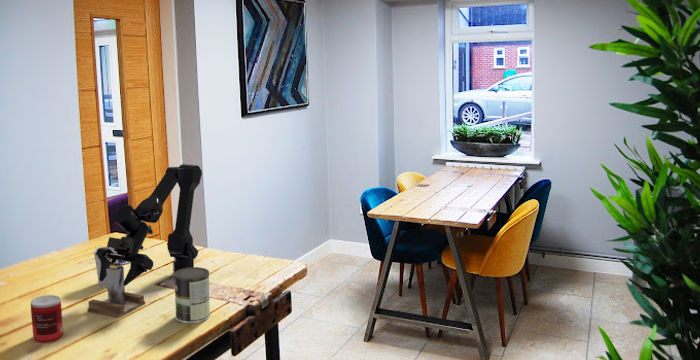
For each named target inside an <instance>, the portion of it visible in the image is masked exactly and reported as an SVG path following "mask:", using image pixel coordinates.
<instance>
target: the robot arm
mask: <svg viewBox="0 0 700 360" xmlns="http://www.w3.org/2000/svg"><path fill="white" fill-rule="evenodd" d="M202 175H203V172H202V169H201V167H200V165H197V164H186V163H182V164H180V165H179V166H169V167H167V168H166V169H165V174H164V175H163V176H162V178H161V180H160V181H159V182H158V184H157V185H156V187H155V188H154V190H153V191H152V192H151V195H149V196H148V197H147V198H145V199H143V200H141V202H140V203H139V204H138V205H137V206H136V208H133V207H134V206H132V205H130V204H125V205H124V207H121V208H119V209H118V210H117V211H116V212H114V215H113V220H114V222H115V223H116V224H117V225H118V226H119V227H120V228H121V229H122V230H123V231H125V232H126V235H125V236H122V237H120V238H117V237H111V236H109V237H108V241H107V245H106V247H108V248H109V247H111V248H114V251H115V252H117V254H115V253H114V252H113V251H111V250H110V249H108V248H102V247H103V246H101V248H100V247H97V248H98V250H97V252H96V255H97V256H98V258H99V259H100V261H101V270H100V278H99V280H100V281H103V280H104V279H105V277H106V276H107V271H106V268H107V267H110V264H113V263H115V262H116V260H119V261H125V262H129V263H130V264H129V265H130V266H129V270H128V271H127V274H126V276H125V277H124V283H123V285H124V286H125V287H127V285H129V284H130V283H132V281H134V280H135V279H136V278H137V277H139V276H141V275H142V274H144V273H147V272H148V271H151V270H153V267H154V261H153V260H152V258H150V256H148V255H147V254H145V253H139V251H143V250H144V247H145V246H143V244H144V242H145V239H146V238H147V235H153V234H154V231H153V229H152V225H150V224H155V223H157V222H158V221H159V220H160V218H161V216H162V214H163V212H164V208H163V207H164V206H163V205H164V204H165V202H166V200H168V197H169V196H170V195H171V193H172V191H174V188H175V186H176V185H178V188H179V194H178V202H177V211H176V220H175V224H174V225H175V226H174V227H175V228H174V230H173V231H172V232H171V233H168V235H167V242H166V247H167V251H168V253H169V256H170V258H174V260H173V261H172V272H173V274H174V273H175V272H176V271H178V270H180V269H184V268H190V267H195V261H194V260H196V258H197V257H198V254H199V250H198V249H197V248H196V247H195V246H194V244H193V243H194V241H193V240H194V239H193V238H194V237H193V236H192V233H191V231H190V229H191V218H192V212H193V205H194V204H193V203H194V197H195V196H194V195H195V190H196V189H197V188H198V186H199V185H200V183H201V180H202ZM147 223H150V224H149V225H148V224H147Z"/></svg>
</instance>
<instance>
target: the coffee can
mask: <svg viewBox="0 0 700 360" xmlns="http://www.w3.org/2000/svg"><path fill="white" fill-rule="evenodd" d="M173 277H174V295H175V296H174V297H175V298H174V300H175V302H174V303H175V320H176V321H177V322H179V323H182V324H199V323H202V322H206V321H207V320H209V318H210V317H211V312H210V311H211V310H210V309H211V306H210V304H211V302H210V271H209V269H207V268H204V267H199V266H198V267H197V266H194V267H190V268H184V269H180V270H178V271H176V272H175V273H174V272H173Z"/></svg>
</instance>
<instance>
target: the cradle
mask: <svg viewBox="0 0 700 360" xmlns="http://www.w3.org/2000/svg"><path fill="white" fill-rule="evenodd" d="M87 303H88V308H87V312H90V313H95V314H99V315H104V316H109V317H113V318H122V317H123V316H125V315H127V314H128V313H129V314H130V312H131V313H132V312H133V311H134V310H137V309H138V308H140V307H142V306H144V305H146V301H145V295H142V294H137V293H133V292H128V291H125V305H119V304H114V303H109V302H108V298H107V299H105V300H99V299H98V300H97V299H95V298H94V299H91V300H89V301H88V302H87Z"/></svg>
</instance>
